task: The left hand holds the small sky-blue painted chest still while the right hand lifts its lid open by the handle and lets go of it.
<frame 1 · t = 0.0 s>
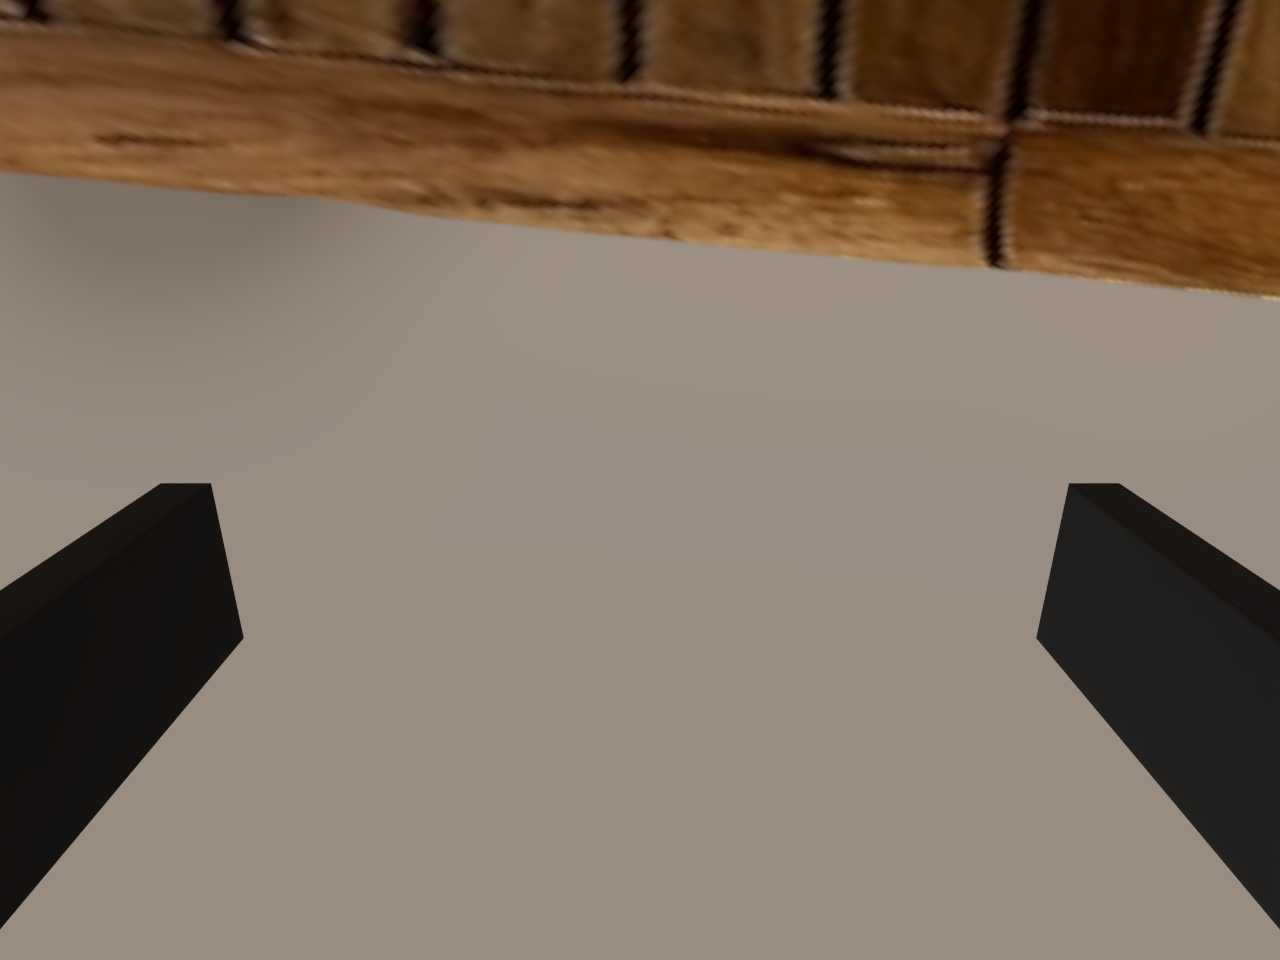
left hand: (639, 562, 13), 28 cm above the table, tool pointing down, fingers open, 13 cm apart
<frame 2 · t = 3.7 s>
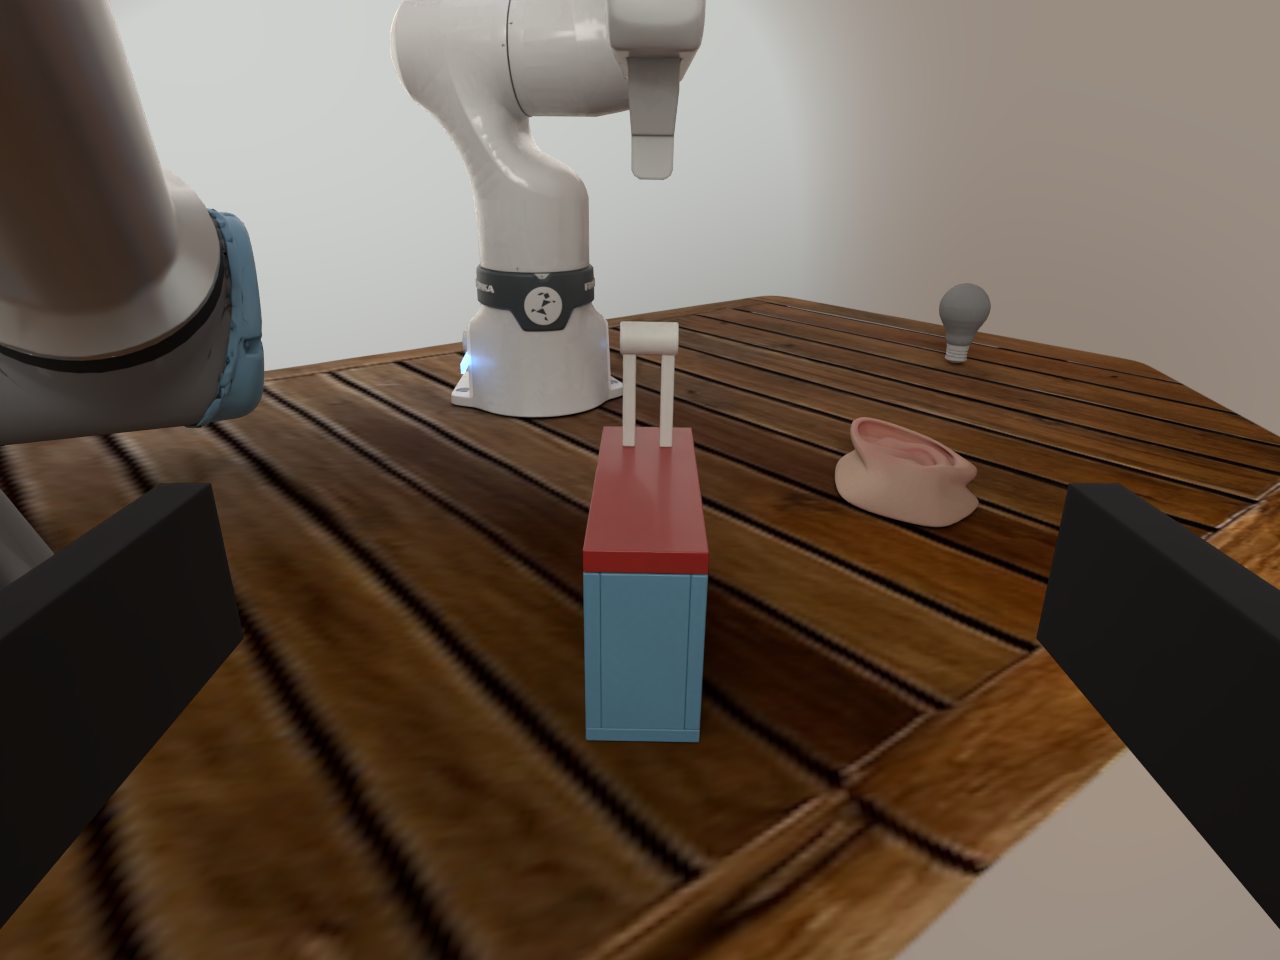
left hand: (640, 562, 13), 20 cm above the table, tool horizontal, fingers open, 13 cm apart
chest: (643, 647, 45), on the table
anatomical model: (902, 491, 65), on the table
lid: (647, 423, 40), point 13 cm above the table, hinge at 0.0°
light bulb: (954, 363, 104), on the table
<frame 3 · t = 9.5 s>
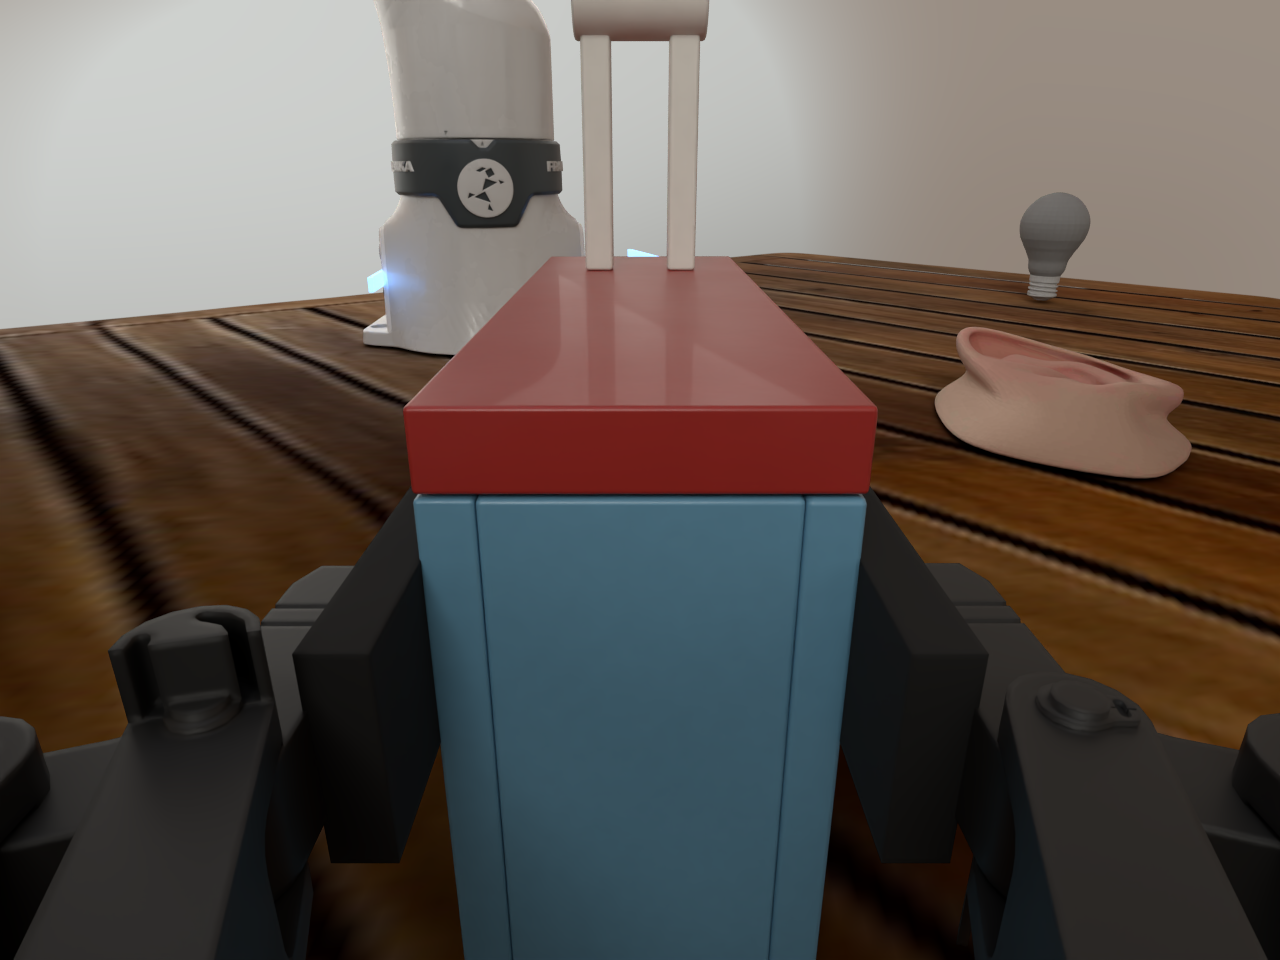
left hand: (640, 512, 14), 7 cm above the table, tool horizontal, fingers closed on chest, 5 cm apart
chest: (640, 717, 20), on the table, touching left hand
anatomical model: (1052, 433, 41), on the table
lid: (640, 139, 15), point 13 cm above the table, hinge at 0.0°
light bulb: (1040, 301, 79), on the table
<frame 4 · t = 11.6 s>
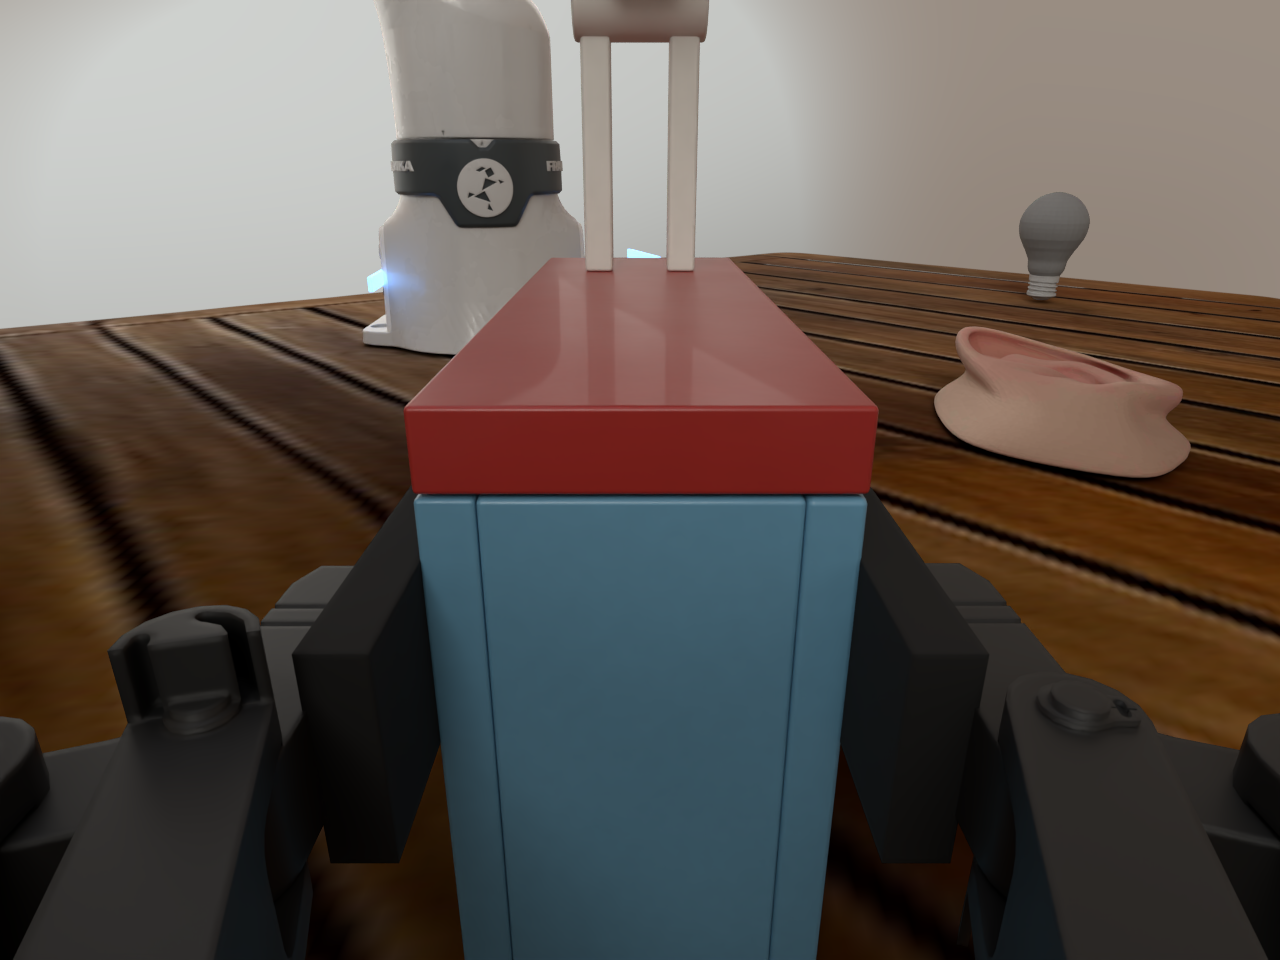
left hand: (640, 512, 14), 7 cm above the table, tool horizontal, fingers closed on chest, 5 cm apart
chest: (640, 717, 20), on the table, touching left hand
anatomical model: (1051, 432, 41), on the table
lid: (640, 140, 15), point 13 cm above the table, hinge at -0.2°, touching right hand
light bulb: (1039, 301, 79), on the table
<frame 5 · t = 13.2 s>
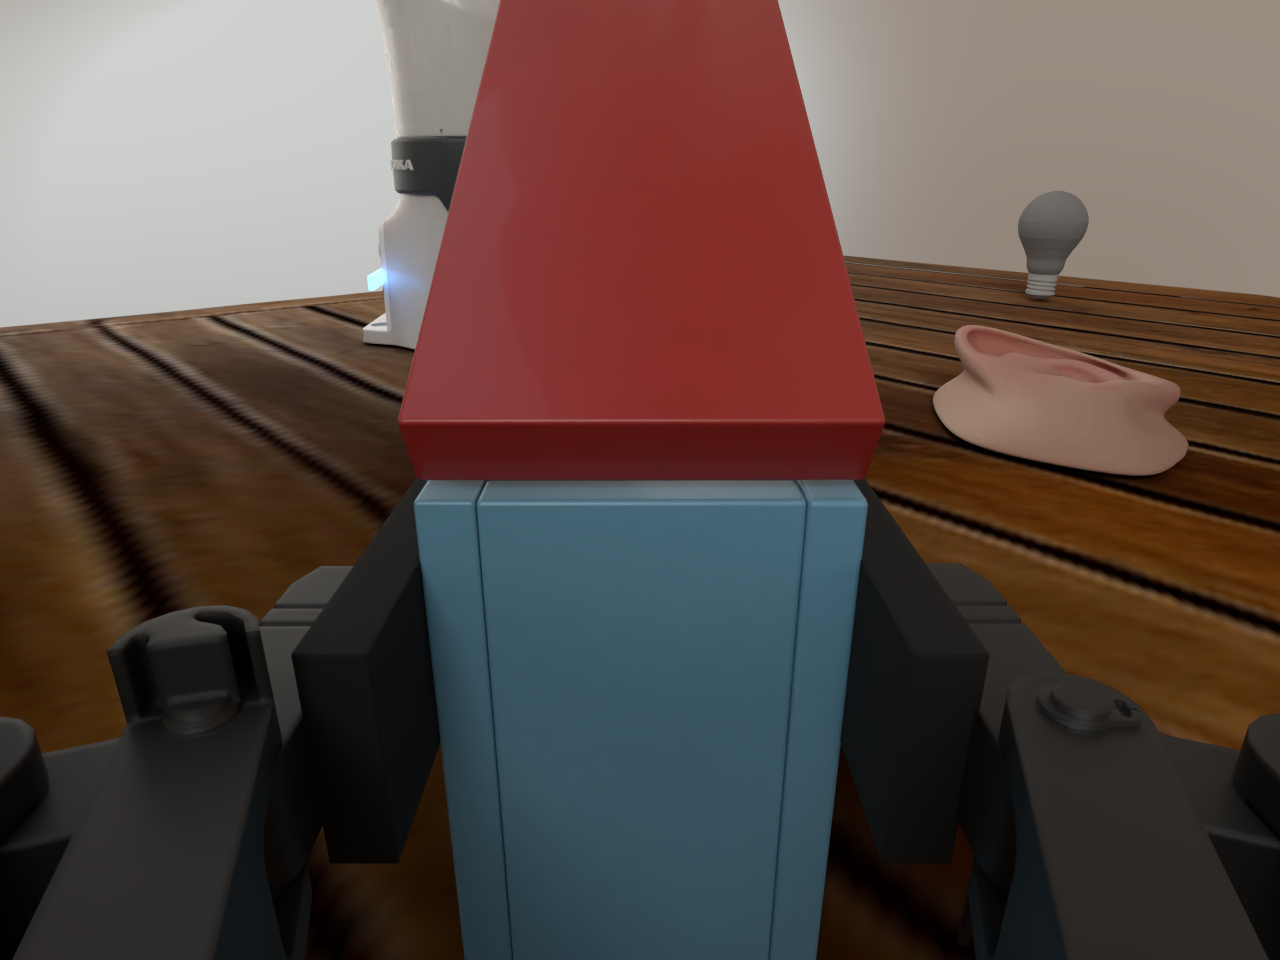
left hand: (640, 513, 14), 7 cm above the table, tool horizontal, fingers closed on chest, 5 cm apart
chest: (639, 717, 20), on the table, touching left hand
anatomical model: (1049, 431, 41), on the table
light bulb: (1038, 300, 80), on the table
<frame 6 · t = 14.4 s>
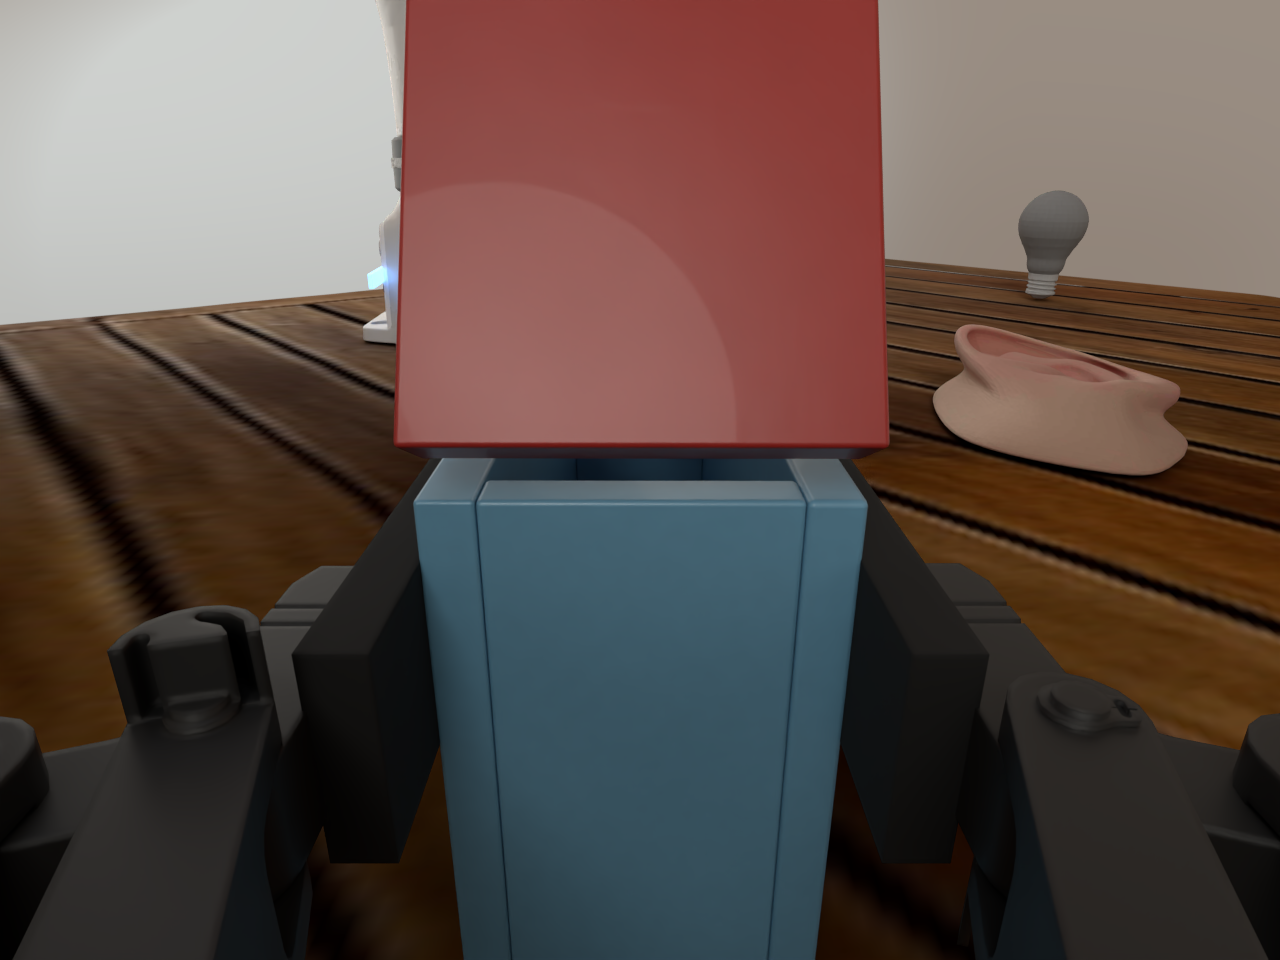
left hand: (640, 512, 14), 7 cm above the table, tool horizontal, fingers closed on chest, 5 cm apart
chest: (639, 716, 20), on the table, touching left hand
anatomical model: (1049, 430, 41), on the table
light bulb: (1038, 299, 80), on the table
when the left hand's fingers open (7 cm above the table, at t = 18.5 s): chest stays where it is, on the table.
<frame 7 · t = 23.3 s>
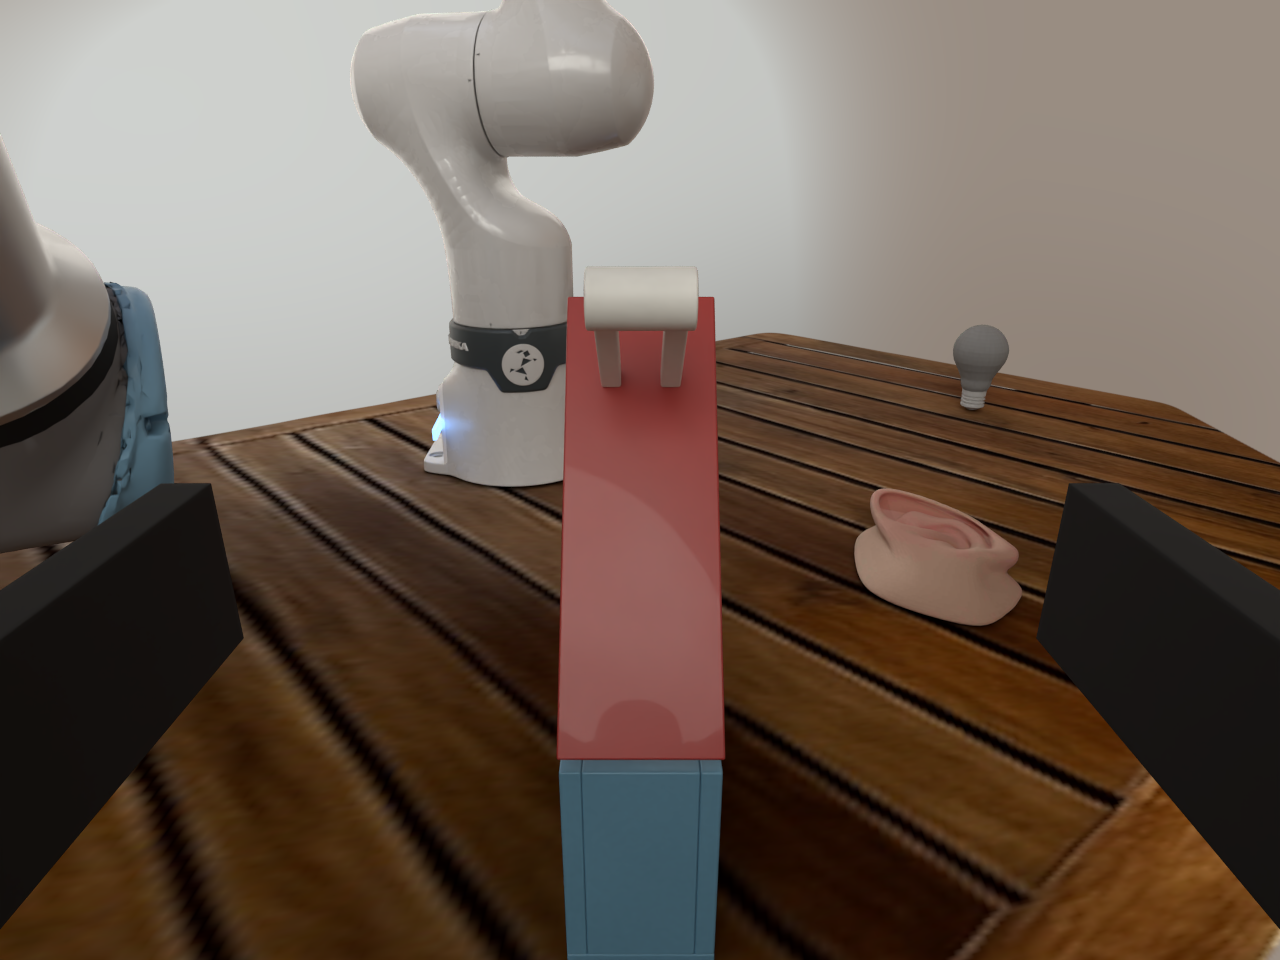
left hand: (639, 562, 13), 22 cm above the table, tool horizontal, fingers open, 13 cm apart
chest: (640, 812, 37), on the table
anatomical model: (932, 576, 57), on the table
lid: (640, 492, 24), point 18 cm above the table, hinge at 54.7°
light bulb: (971, 410, 96), on the table
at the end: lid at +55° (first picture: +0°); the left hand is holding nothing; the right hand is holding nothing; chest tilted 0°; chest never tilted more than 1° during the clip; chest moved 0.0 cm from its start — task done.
